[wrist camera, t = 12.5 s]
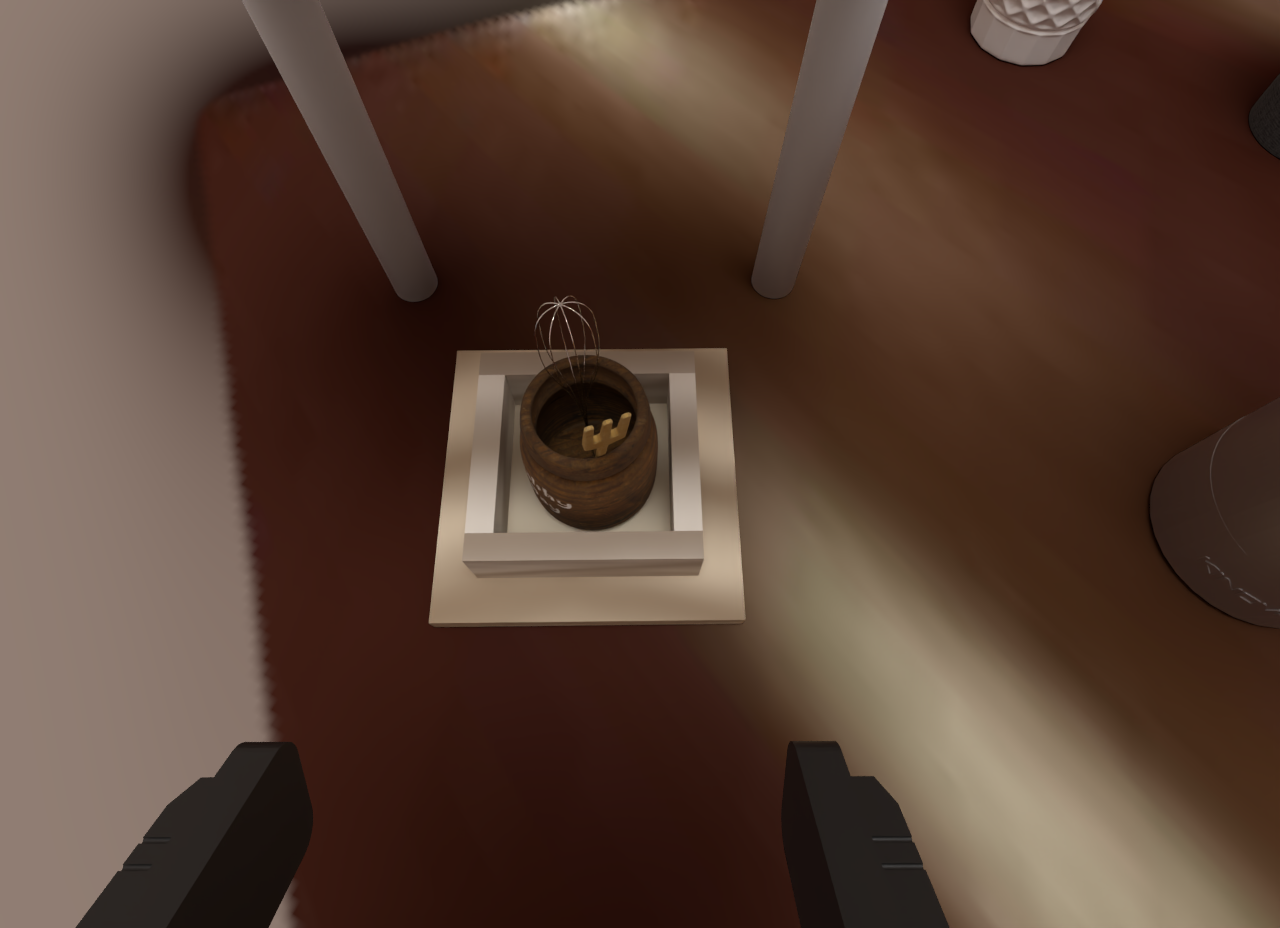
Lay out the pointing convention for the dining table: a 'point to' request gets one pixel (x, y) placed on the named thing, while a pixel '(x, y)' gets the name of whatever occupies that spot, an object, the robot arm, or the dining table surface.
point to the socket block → (589, 559)
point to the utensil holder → (588, 437)
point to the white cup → (1029, 28)
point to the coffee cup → (1267, 118)
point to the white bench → (362, 171)
